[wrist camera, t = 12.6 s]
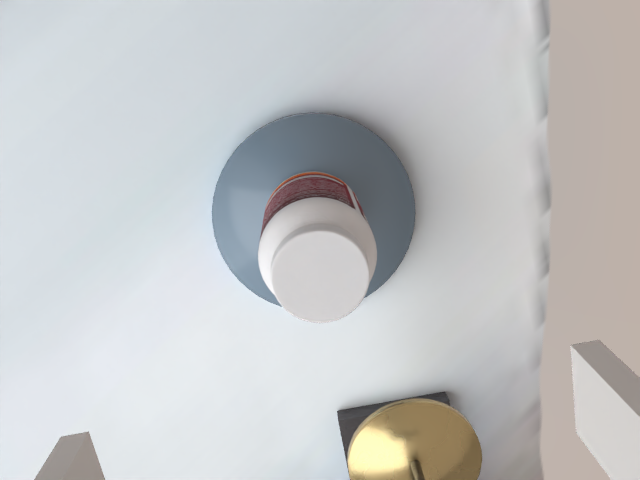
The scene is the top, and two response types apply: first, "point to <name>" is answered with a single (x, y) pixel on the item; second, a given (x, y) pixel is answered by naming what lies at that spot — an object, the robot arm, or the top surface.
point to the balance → (410, 441)
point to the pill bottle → (316, 247)
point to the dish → (304, 156)
